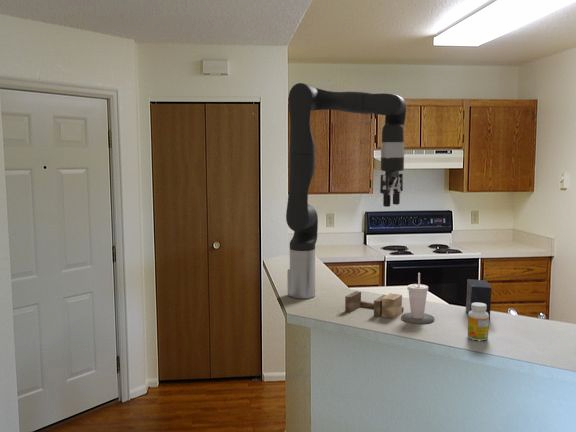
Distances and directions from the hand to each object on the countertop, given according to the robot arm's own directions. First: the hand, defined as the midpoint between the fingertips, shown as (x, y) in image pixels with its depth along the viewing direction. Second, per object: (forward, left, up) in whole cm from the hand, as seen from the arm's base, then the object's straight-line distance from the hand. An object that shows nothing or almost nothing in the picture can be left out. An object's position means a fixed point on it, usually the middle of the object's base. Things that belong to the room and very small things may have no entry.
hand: (391, 205), depth 179 cm
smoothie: (+13, -10, -34) cm, 37 cm away
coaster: (+13, -10, -34) cm, 38 cm away
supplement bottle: (+33, -19, -34) cm, 51 cm away
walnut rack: (-2, -10, -34) cm, 36 cm away
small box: (+28, +4, -34) cm, 44 cm away
